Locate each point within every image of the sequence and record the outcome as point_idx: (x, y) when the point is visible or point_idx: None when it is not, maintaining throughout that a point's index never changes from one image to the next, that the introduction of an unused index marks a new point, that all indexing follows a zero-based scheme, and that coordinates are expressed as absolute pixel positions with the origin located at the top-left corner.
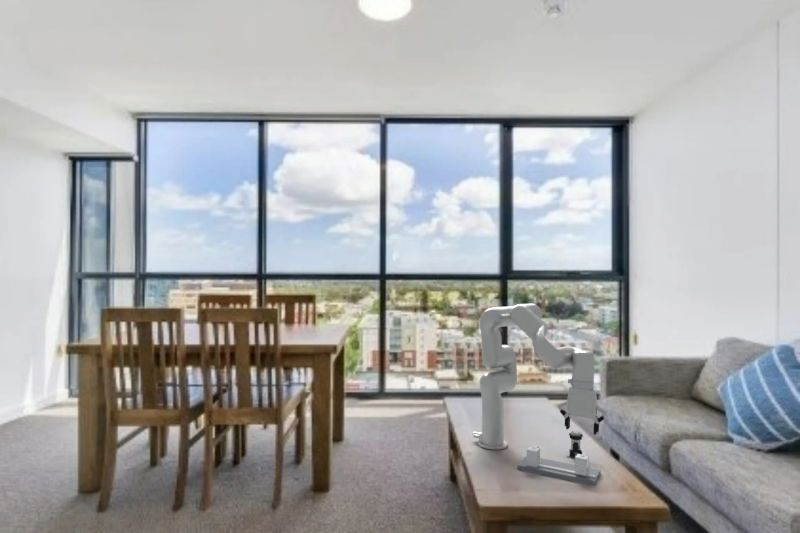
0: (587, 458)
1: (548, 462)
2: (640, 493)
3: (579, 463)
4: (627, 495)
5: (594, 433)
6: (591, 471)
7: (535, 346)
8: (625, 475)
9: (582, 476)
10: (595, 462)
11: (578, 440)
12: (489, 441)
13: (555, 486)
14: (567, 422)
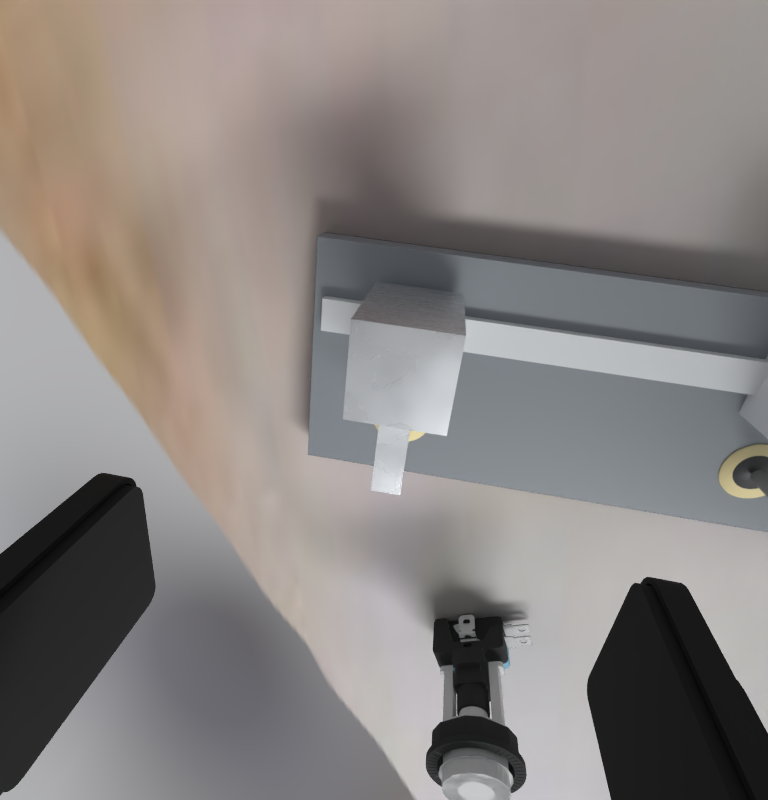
0: (348, 353)
1: (660, 463)
2: (52, 230)
3: (426, 314)
4: (105, 152)
5: (109, 483)
6: None
7: None
8: (189, 467)
9: None
10: (360, 583)
11: (454, 717)
12: None
13: (623, 58)
14: (727, 732)
